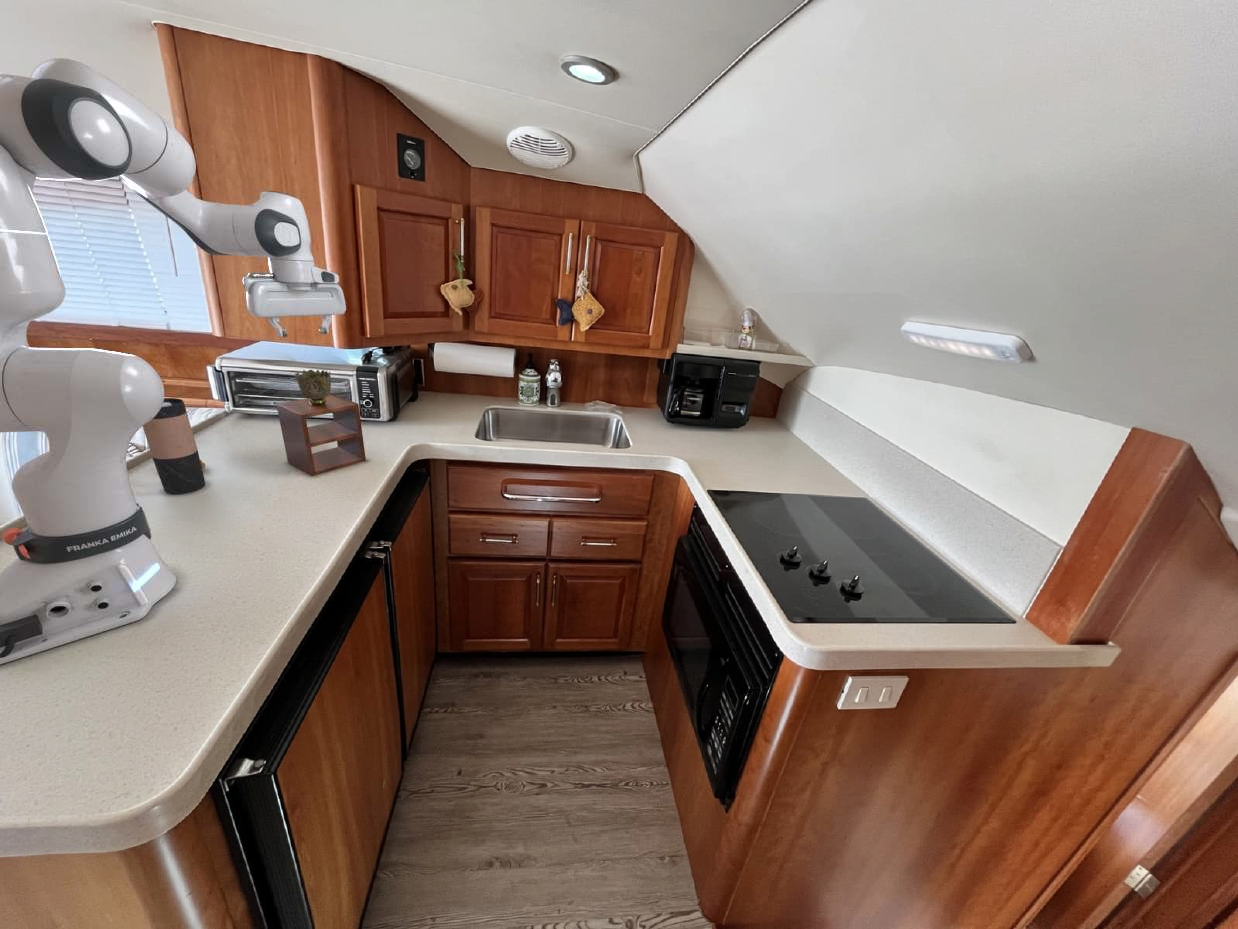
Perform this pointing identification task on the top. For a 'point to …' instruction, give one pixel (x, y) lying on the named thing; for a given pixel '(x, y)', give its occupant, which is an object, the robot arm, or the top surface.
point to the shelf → (322, 434)
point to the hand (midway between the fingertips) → (304, 335)
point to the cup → (315, 385)
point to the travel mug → (174, 449)
